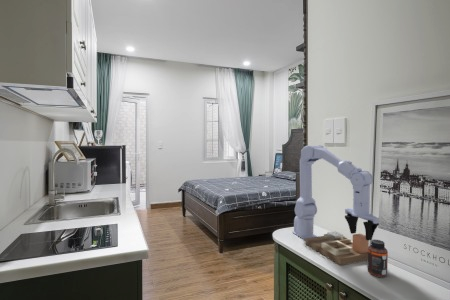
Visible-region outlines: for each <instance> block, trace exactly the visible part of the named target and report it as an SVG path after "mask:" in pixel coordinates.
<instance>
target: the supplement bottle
mask: <svg viewBox="0 0 450 300" xmlns="http://www.w3.org/2000/svg"><path fill="white" fill-rule="evenodd" d="M385 244H386V243H385V241H383V240H381V239H372V240H370V245H369V247H368V260H367V272H368V273H369V275H372V276H374V277H377V278H385V277H388V258H389V255H388V254H389V252H388V249H387V248H386V247H385V246H386V245H385Z"/></svg>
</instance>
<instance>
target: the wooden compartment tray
mask: <svg viewBox="0 0 450 300" xmlns="http://www.w3.org/2000/svg"><path fill="white" fill-rule="evenodd" d="M338 241H340V242H342V243H344V244H346V245H348V246H350V247H352V246H353V241H352V239H351V238H349V237H347V236H345V235H343V240H338ZM324 242H330V240H328V239H327V233H324V234H323V235H322V236H317V237H313V238H306V239H305V245H306V246H308V247H310V248H311V249H314V251H316V252H318V253H320V254H321V255H323V256H324V257H326V258H328V259H329V260H331V261H333V262H335V263H336V264H337V265H339V266H344V265H349V264H354V263H359V262H365V261H368V252H366V253H359V252H357V251H355V250H353V249H352V253H349V254H343V255H338V256H335V255H333V254H332V253H330V252H328V251H327V250H325V249H323V248H322V243H324ZM334 248H335V249H338V248H339V247H334Z"/></svg>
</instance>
